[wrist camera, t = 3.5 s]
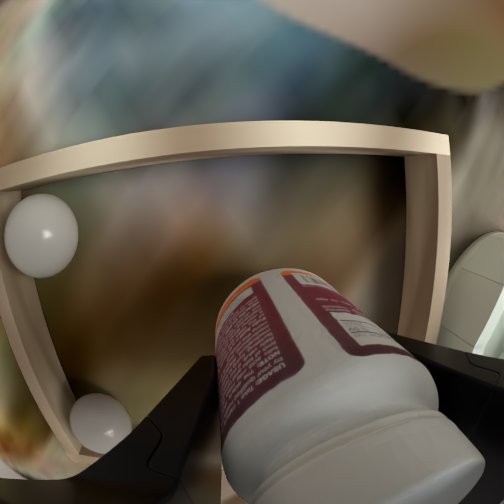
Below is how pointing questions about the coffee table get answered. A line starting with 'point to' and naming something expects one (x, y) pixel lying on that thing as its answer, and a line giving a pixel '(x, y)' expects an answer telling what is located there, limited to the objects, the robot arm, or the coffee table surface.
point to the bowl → (476, 299)
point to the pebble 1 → (41, 235)
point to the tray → (214, 146)
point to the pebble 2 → (99, 422)
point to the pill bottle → (328, 403)
